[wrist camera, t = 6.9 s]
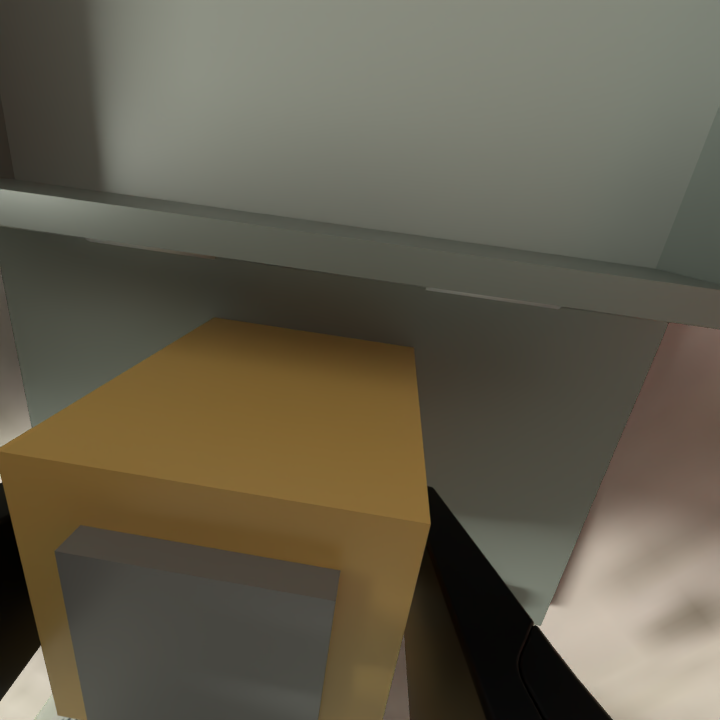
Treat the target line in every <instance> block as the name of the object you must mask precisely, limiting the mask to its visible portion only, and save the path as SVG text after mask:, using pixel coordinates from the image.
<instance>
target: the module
mask: <svg viewBox="0 0 720 720" xmlns="http://www.w3.org/2000/svg"><path fill="white" fill-rule="evenodd" d="M0 474H1V479H2V483H3V487H4V491H5V496H6V500H7V504H8V508H9V512H10V517H11V521H12V525H13V529H14V533H15V538H16V542H17V546H18V550H19V555H20V559H21V563H22V567H23V571H24V576H25V580H26V584H27V588H28V592H29V597H30V601H31V605H32V609H33V614H34V618H35V622H36V626H37V630H38V635H39V639H40V643H41V647H42V651H43V656H44V660H45V664H46V668H47V673H48V677H49V681H50V685H51V689H52V694H53V698H54V702H55V706H56V710H57V715H58V716H63V717H68V718H73V719H79V720H383V716H384V712H385V708H386V704H387V700H388V696H389V692H390V688H391V684H392V680H393V675H394V671H395V667H396V663H397V659H398V655H399V651H400V647H401V643H402V639H403V635H404V631H405V627H406V623H407V619H408V614H409V610H410V606H411V602H412V598H413V594H414V590H415V586H416V582H417V578H418V574H419V570H420V566H421V562H422V558H423V553H424V549H425V545H426V541H427V537H428V533H429V529H430V525H431V522H430V511H429V501H428V491H427V480H426V470H425V459H424V449H423V439H422V428H421V418H420V407H419V397H418V386H417V376H416V366H415V355H414V348H413V347H406V346H400V345H393V344H387V343H380V342H373V341H367V340H360V339H354V338H347V337H340V336H334V335H327V334H321V333H314V332H307V331H301V330H294V329H288V328H281V327H274V326H268V325H261V324H254V323H248V322H241V321H235V320H228V319H221V318H215V317H214V318H212V319H211V320H209V321H207V322H206V323H204V324H202V325H201V326H199V327H197V328H196V329H194V330H193V331H191V332H189V333H188V334H186V335H184V336H183V337H181V338H179V339H178V340H176V341H174V342H173V343H171V344H170V345H168V346H166V347H165V348H163V349H161V350H160V351H158V352H156V353H155V354H153V355H151V356H150V357H148V358H146V359H145V360H143V361H142V362H140V363H138V364H137V365H135V366H133V367H132V368H130V369H128V370H127V371H125V372H123V373H122V374H120V375H119V376H117V377H115V378H114V379H112V380H110V381H109V382H107V383H105V384H104V385H102V386H100V387H99V388H97V389H96V390H94V391H92V392H91V393H89V394H87V395H86V396H84V397H82V398H81V399H79V400H77V401H76V402H74V403H72V404H71V405H69V406H68V407H66V408H64V409H63V410H61V411H59V412H58V413H56V414H54V415H53V416H51V417H49V418H48V419H46V420H45V421H43V422H41V423H40V424H38V425H36V426H35V427H33V428H31V429H30V430H28V431H26V432H25V433H23V434H21V435H20V436H18V437H17V438H15V439H13V440H12V441H10V442H8V443H7V444H5V445H3V446H2V447H0Z"/></svg>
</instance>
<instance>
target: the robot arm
mask: <svg viewBox="0 0 720 720" xmlns="http://www.w3.org/2000/svg"><path fill="white" fill-rule="evenodd" d="M427 491H428V501H429V511H430V522H431V525H430V529H429V533H428V537H427V541H426V545H425V549H424V553H423V558H422V562H421V566H420V570H419V574H418V578H417V582H416V586H415V590H414V594H413V598H412V602H411V606H410V610H409V614H408V619H407V623H406V627H405V631H404V640H405V655H406V669H407V683H408V698H409V712H410V720H613V719H612V718H611V717H610V716H609V715H608V713H607V712H606V711H605V710H604V709H603V708H602V706H601V705H600V704H599V703H598V702H597V700H596V699H595V698H594V697H593V696H592V695H591V693H590V692H589V691H588V690H587V689H586V687H585V686H584V685H583V684H582V683H581V682H580V680H579V679H578V678H577V677H576V675H575V674H574V673H573V672H572V670H571V669H570V668H569V666H568V665H567V664H566V663H565V661H564V660H563V659H562V657H561V656H560V655H559V654H558V652H557V651H556V650H555V649H554V647H553V646H552V645H551V643H550V642H549V641H548V639H547V638H546V637H545V635H544V634H543V633H542V631H541V630H540V629H539V627H538V626H536V625H534V621H533V620H532V618H531V617H530V616H529V614H528V613H527V612H526V610H525V609H524V608H523V606H522V605H521V604H520V602H519V601H518V600H517V598H516V597H515V596H514V594H513V593H512V592H511V590H510V589H509V588H508V586H507V585H506V584H505V582H504V581H503V580H502V578H501V577H500V575H499V574H498V573H497V571H496V570H495V569H494V567H493V566H492V565H491V563H490V562H489V561H488V559H487V558H486V557H485V555H484V554H483V553H482V551H481V550H480V549H479V547H478V546H477V545H476V543H475V542H474V541H473V539H472V538H471V537H470V535H469V534H468V533H467V531H466V530H465V529H464V527H463V526H462V525H461V523H460V522H459V521H458V519H457V518H456V517H455V515H454V514H453V513H452V511H451V510H450V509H449V507H448V506H447V505H446V503H445V502H444V501H443V499H442V498H441V497H440V495H439V494H438V493H437V491H436V490H435V489H434V488H433V487H431V486H427ZM40 646H41V643H40V639H39V635H38V630H37V626H36V622H35V618H34V614H33V609H32V605H31V601H30V597H29V592H28V588H27V584H26V580H25V576H24V571H23V567H22V563H21V559H20V555H19V550H18V546H17V542H16V538H15V533H14V529H13V525H12V521H11V517H10V512H9V508H8V504H7V500H6V496H5V491H4V487H3V483H0V701H1V699H2V698H3V697H4V695H5V694H6V692H7V691H8V690H9V688H10V687H11V686H12V684H13V683H14V681H15V680H16V679H17V677H18V676H19V675H20V673H21V672H22V670H23V669H24V668H25V666H26V665H27V664H28V662H29V661H30V659H31V658H32V657H33V655H34V654H35V653H36V651H37V650H38V648H39V647H40Z"/></svg>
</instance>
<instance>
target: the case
mask: <svg viewBox="0 0 720 720" xmlns="http://www.w3.org/2000/svg"><path fill="white" fill-rule="evenodd" d="M0 226H7V227H14V228H21V229H27V230H34V231H41V232H48V233H55V234H62V235H69V236H76V237H83V238H86V239H87V240H88V241H90V242H97V243H104V244H111V245H118V246H125V247H131V248H138V249H145V250H152V251H159V252H166V253H173V254H180V255H187V256H194V257H201V258H207V259H215V257H222V258H228V259H235V260H242V261H249V262H256V263H263V264H270V265H277V266H284V267H291V268H298V269H305V270H312V271H319V272H325V273H332V274H339V275H346V276H353V277H360V278H367V279H374V280H381V281H388V282H395V283H402V284H409V285H416V286H422V287H426V290H429V291H436V292H443V293H450V294H456V295H463V296H470V297H477V298H484V299H491V300H498V301H505V302H512V303H519V304H526V305H532V306H539V307H546V308H553V309H560V308H561V307H568V308H575V309H582V310H589V311H596V312H603V313H610V314H616V315H623V316H630V317H637V318H644V319H651V320H658V321H665V322H672V323H679V324H686V325H693V326H700V327H707V328H713V329H720V0H0Z"/></svg>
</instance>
